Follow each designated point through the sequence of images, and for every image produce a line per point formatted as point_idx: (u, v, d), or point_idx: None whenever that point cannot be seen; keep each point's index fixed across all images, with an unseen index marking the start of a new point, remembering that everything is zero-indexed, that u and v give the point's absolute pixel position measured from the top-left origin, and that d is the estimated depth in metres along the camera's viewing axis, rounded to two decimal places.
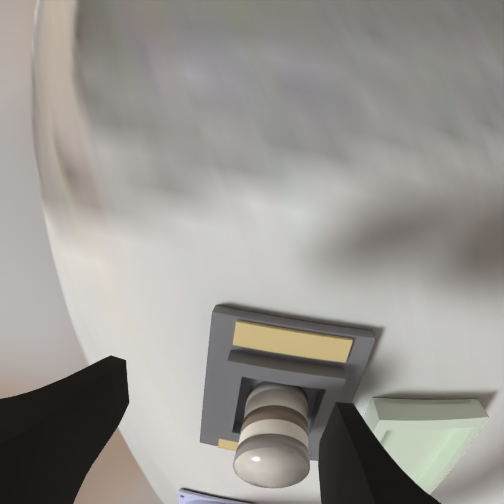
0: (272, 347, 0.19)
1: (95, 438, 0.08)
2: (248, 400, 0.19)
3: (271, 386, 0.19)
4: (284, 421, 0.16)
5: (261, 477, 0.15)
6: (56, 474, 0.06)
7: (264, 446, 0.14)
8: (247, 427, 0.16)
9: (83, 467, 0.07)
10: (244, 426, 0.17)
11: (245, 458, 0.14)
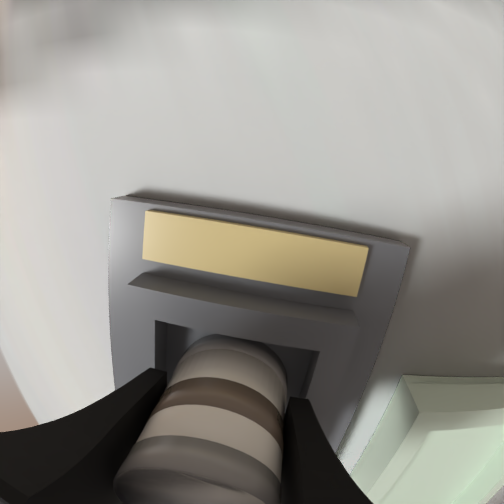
0: (212, 262, 0.10)
1: None
2: (174, 371, 0.10)
3: (214, 344, 0.10)
4: (225, 412, 0.07)
5: None
6: (105, 497, 0.06)
7: (161, 466, 0.05)
8: (151, 418, 0.07)
9: None
10: (149, 417, 0.08)
11: (131, 484, 0.06)
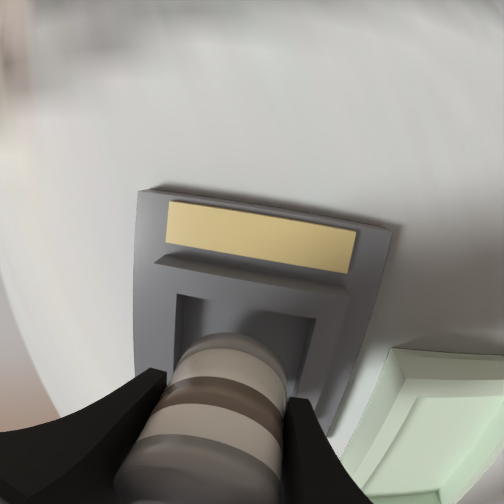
0: (226, 244, 0.12)
1: None
2: (174, 370, 0.10)
3: (214, 344, 0.10)
4: (225, 411, 0.07)
5: None
6: (105, 497, 0.06)
7: (162, 465, 0.05)
8: (151, 418, 0.07)
9: None
10: (149, 416, 0.08)
11: (132, 483, 0.06)
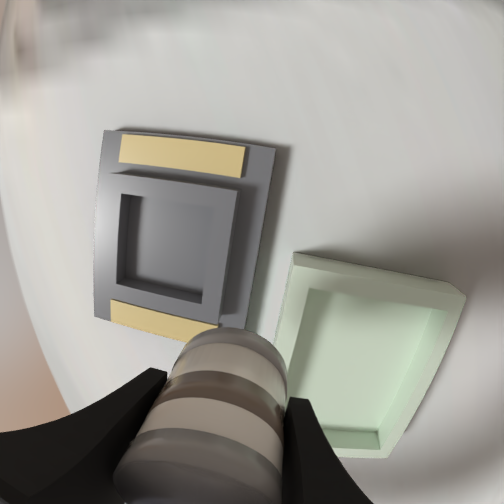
0: (156, 160, 0.16)
1: None
2: (173, 368, 0.10)
3: (211, 339, 0.10)
4: (222, 403, 0.07)
5: None
6: (105, 497, 0.06)
7: (157, 458, 0.05)
8: (148, 414, 0.07)
9: None
10: None
11: (130, 480, 0.06)
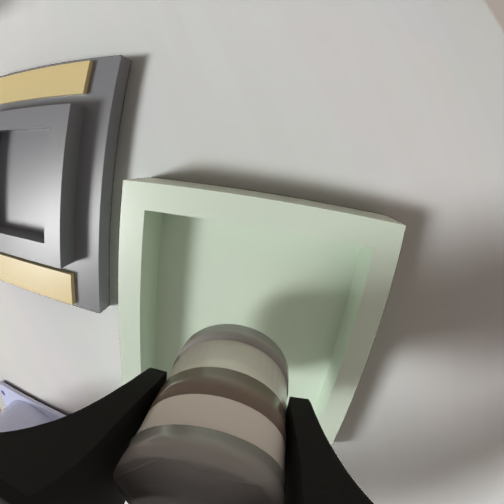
0: (19, 94, 0.12)
1: None
2: (173, 367, 0.10)
3: (208, 336, 0.10)
4: (220, 399, 0.07)
5: None
6: (105, 497, 0.06)
7: (154, 455, 0.05)
8: (148, 413, 0.07)
9: None
10: None
11: (130, 479, 0.06)
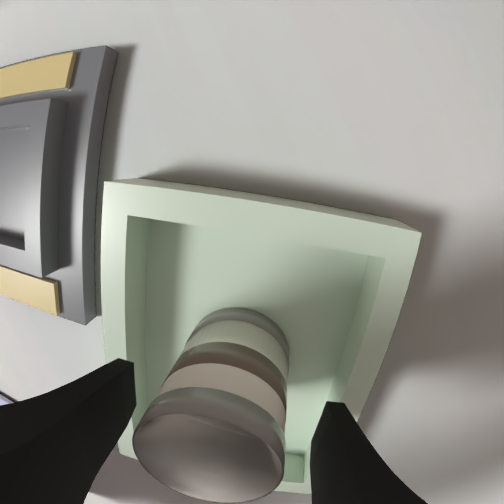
0: (1, 91, 0.10)
1: (103, 441, 0.08)
2: (185, 347, 0.12)
3: (218, 318, 0.12)
4: (228, 367, 0.09)
5: (193, 482, 0.07)
6: (65, 479, 0.06)
7: (172, 412, 0.07)
8: (164, 383, 0.09)
9: (91, 470, 0.07)
10: (163, 383, 0.09)
11: (148, 439, 0.07)
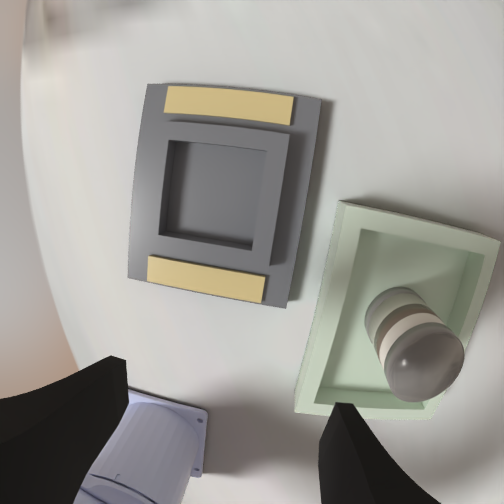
0: (204, 109, 0.16)
1: (95, 438, 0.08)
2: (371, 314, 0.18)
3: (393, 293, 0.18)
4: (426, 314, 0.15)
5: (416, 385, 0.13)
6: (56, 474, 0.06)
7: (425, 334, 0.13)
8: (391, 330, 0.15)
9: (83, 467, 0.07)
10: (384, 332, 0.15)
11: (404, 358, 0.13)
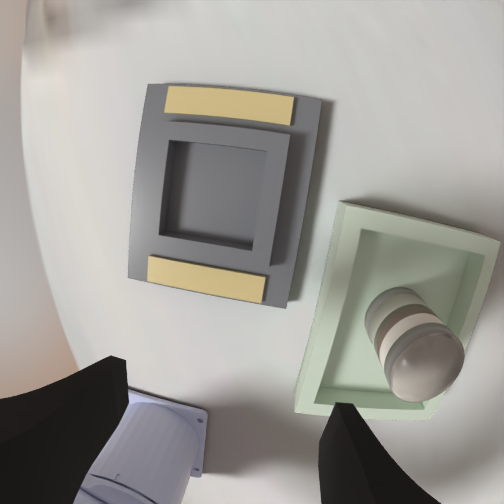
0: (205, 109, 0.16)
1: (95, 438, 0.08)
2: (372, 314, 0.18)
3: (393, 293, 0.18)
4: (427, 315, 0.15)
5: (416, 386, 0.13)
6: (56, 474, 0.06)
7: (425, 335, 0.13)
8: (391, 330, 0.15)
9: (83, 467, 0.07)
10: (385, 332, 0.15)
11: (404, 359, 0.13)
